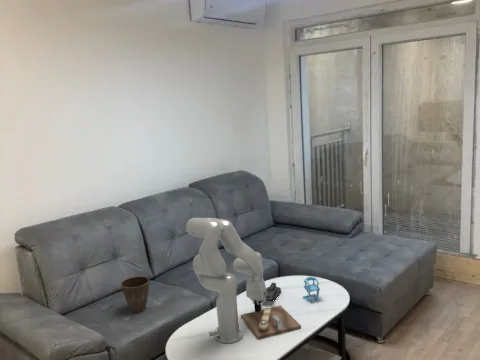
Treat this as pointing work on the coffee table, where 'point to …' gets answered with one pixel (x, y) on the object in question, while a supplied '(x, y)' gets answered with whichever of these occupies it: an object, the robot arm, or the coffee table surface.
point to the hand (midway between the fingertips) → (257, 310)
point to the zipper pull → (272, 292)
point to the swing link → (265, 317)
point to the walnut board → (270, 322)
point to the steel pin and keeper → (278, 322)
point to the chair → (311, 289)
